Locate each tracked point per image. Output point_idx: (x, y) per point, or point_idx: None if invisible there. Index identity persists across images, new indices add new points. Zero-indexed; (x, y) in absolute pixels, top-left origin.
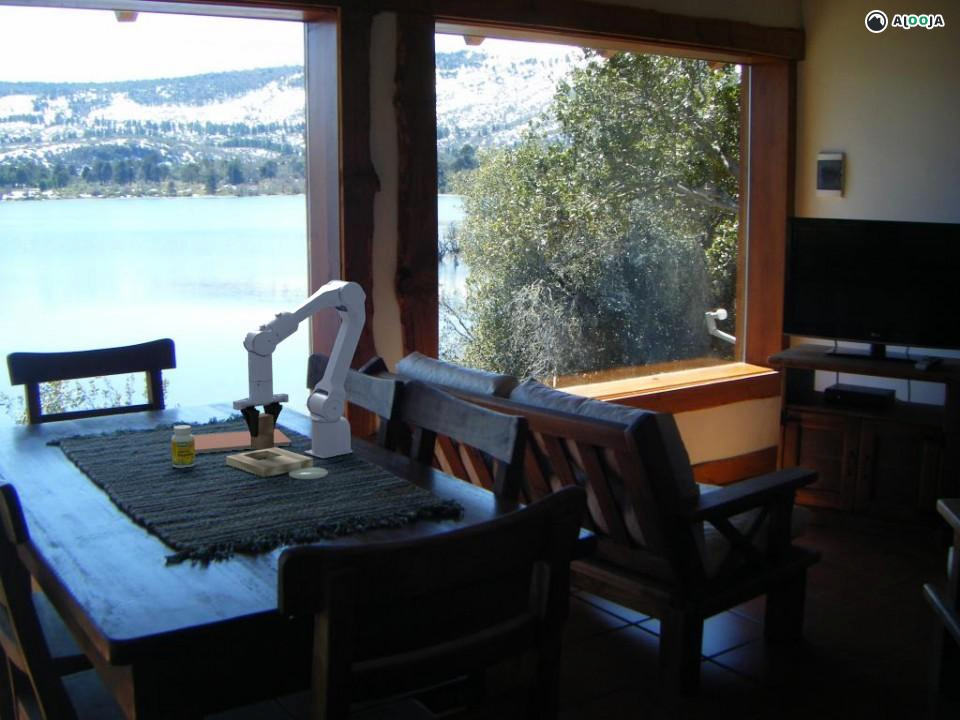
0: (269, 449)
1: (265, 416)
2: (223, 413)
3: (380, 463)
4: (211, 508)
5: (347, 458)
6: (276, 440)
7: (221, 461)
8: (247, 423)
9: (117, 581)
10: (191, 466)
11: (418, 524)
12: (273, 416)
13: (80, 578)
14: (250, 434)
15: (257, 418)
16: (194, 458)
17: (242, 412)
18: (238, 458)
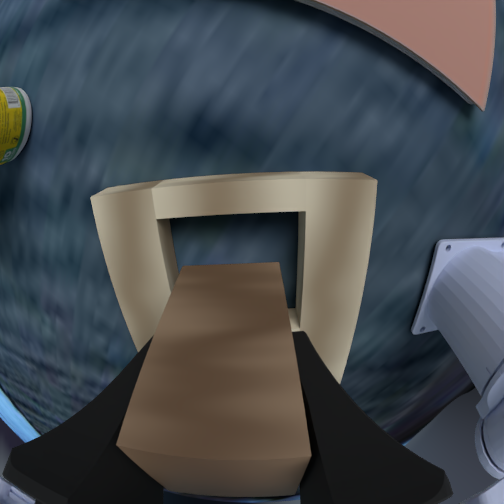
0: (327, 206)
1: (224, 495)
2: None
3: (427, 397)
4: (57, 412)
5: (439, 347)
6: (456, 49)
7: (111, 126)
8: (106, 395)
9: (22, 433)
10: (17, 155)
11: (241, 498)
12: (300, 482)
13: (3, 418)
14: (149, 341)
15: (155, 484)
16: (9, 149)
17: (38, 457)
18: (122, 263)
